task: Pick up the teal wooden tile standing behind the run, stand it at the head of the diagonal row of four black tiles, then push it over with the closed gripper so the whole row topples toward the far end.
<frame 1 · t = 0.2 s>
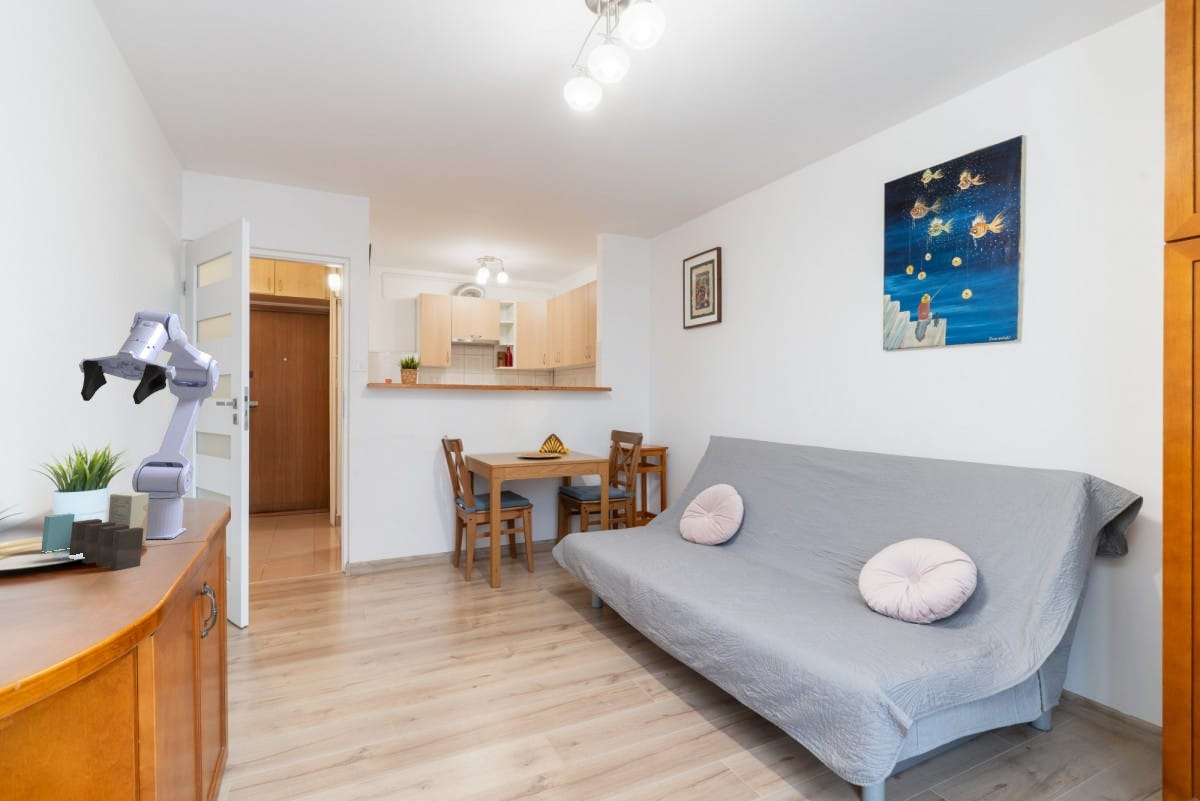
hand: (110, 398, 104), 31 cm above the table, tool tilted 45°, fingers open, 7 cm apart
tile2: (83, 557, 110), on the table
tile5: (125, 567, 106), on the table
tile4: (111, 564, 107), on the table
box: (125, 547, 119), on the table
tile3: (97, 560, 108), on the table
lead tile: (56, 550, 113), on the table
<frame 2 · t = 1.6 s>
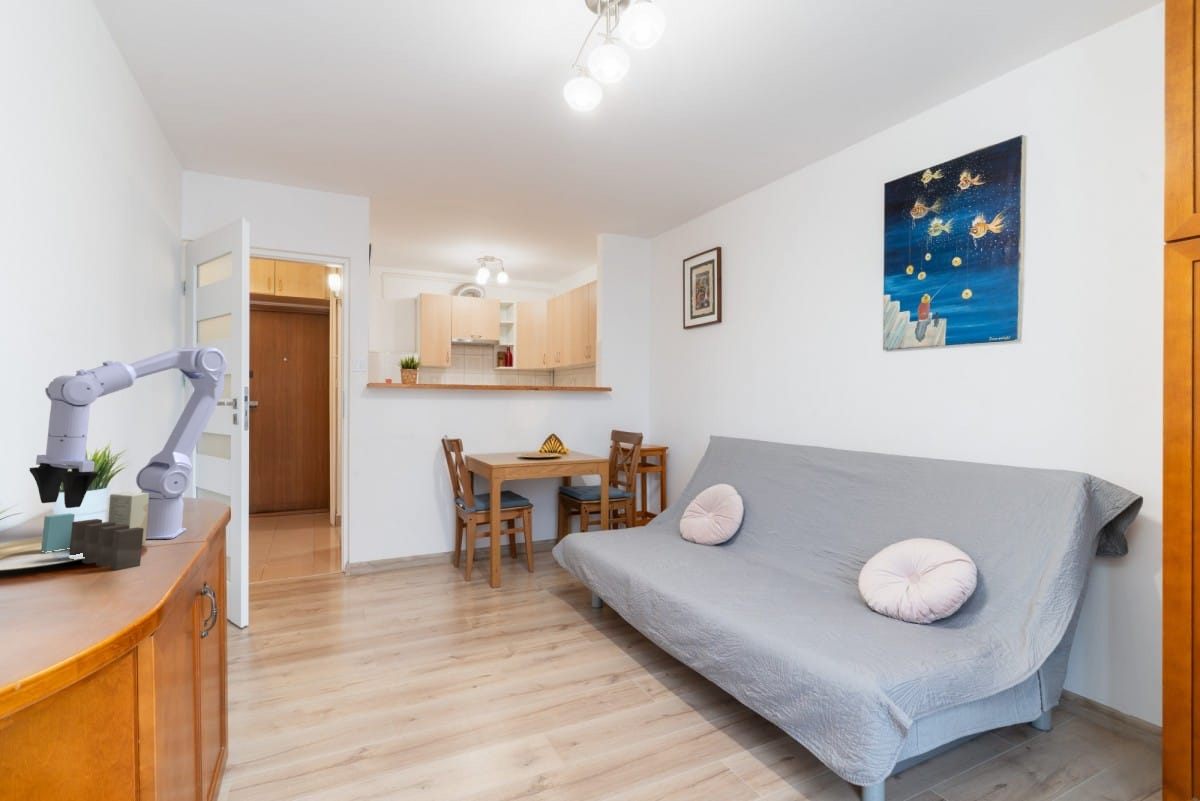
hand: (60, 504, 113), 9 cm above the table, tool pointing down, fingers open, 7 cm apart
nothing on the table moved.
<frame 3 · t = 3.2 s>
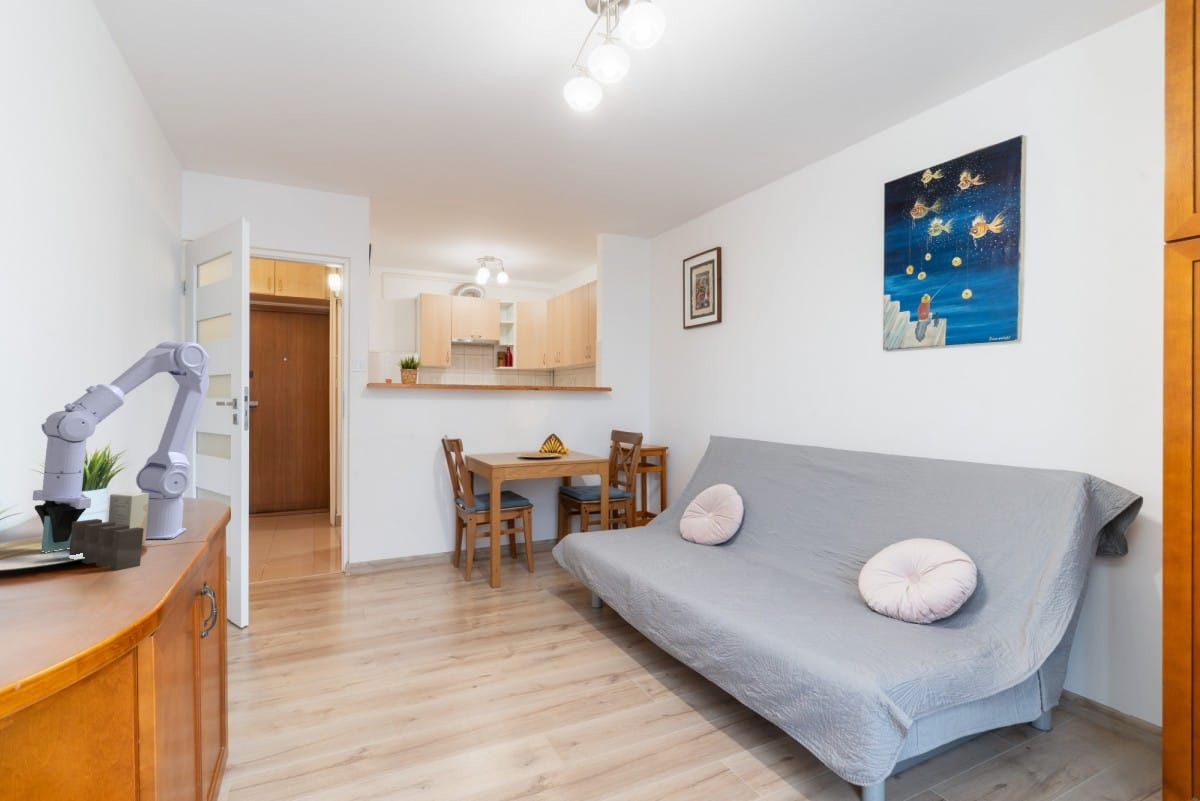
hand: (57, 540, 113), 2 cm above the table, tool pointing down, fingers closed on lead tile, 2 cm apart
lead tile: (56, 550, 113), on the table, touching gripper
everything else where it was.
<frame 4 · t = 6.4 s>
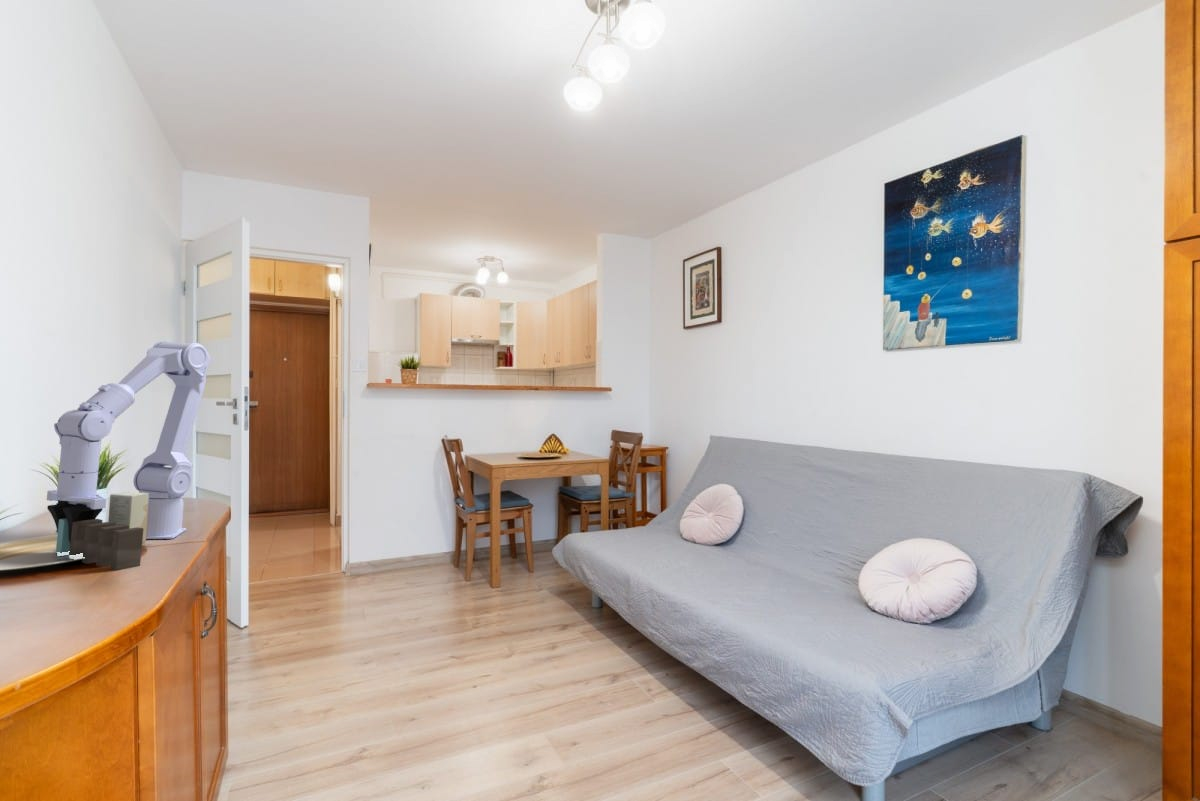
hand: (72, 541, 111), 2 cm above the table, tool pointing down, fingers open, 3 cm apart
lead tile: (70, 554, 111), on the table
everything else where it was.
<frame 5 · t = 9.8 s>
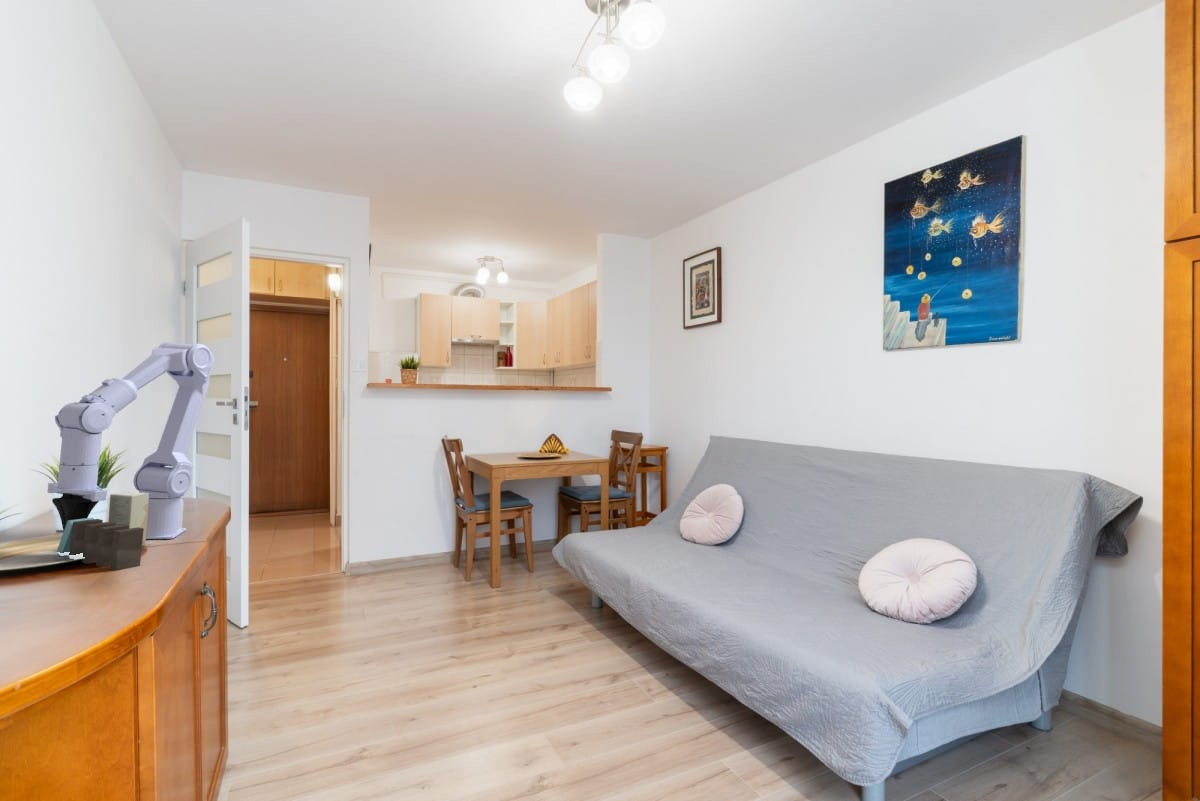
hand: (72, 533, 111), 4 cm above the table, tool pointing down, fingers closed
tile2: (83, 557, 110), on the table, touching lead tile
lead tile: (71, 552, 111), on the table, tilted 22°, touching gripper, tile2
everything else where it was.
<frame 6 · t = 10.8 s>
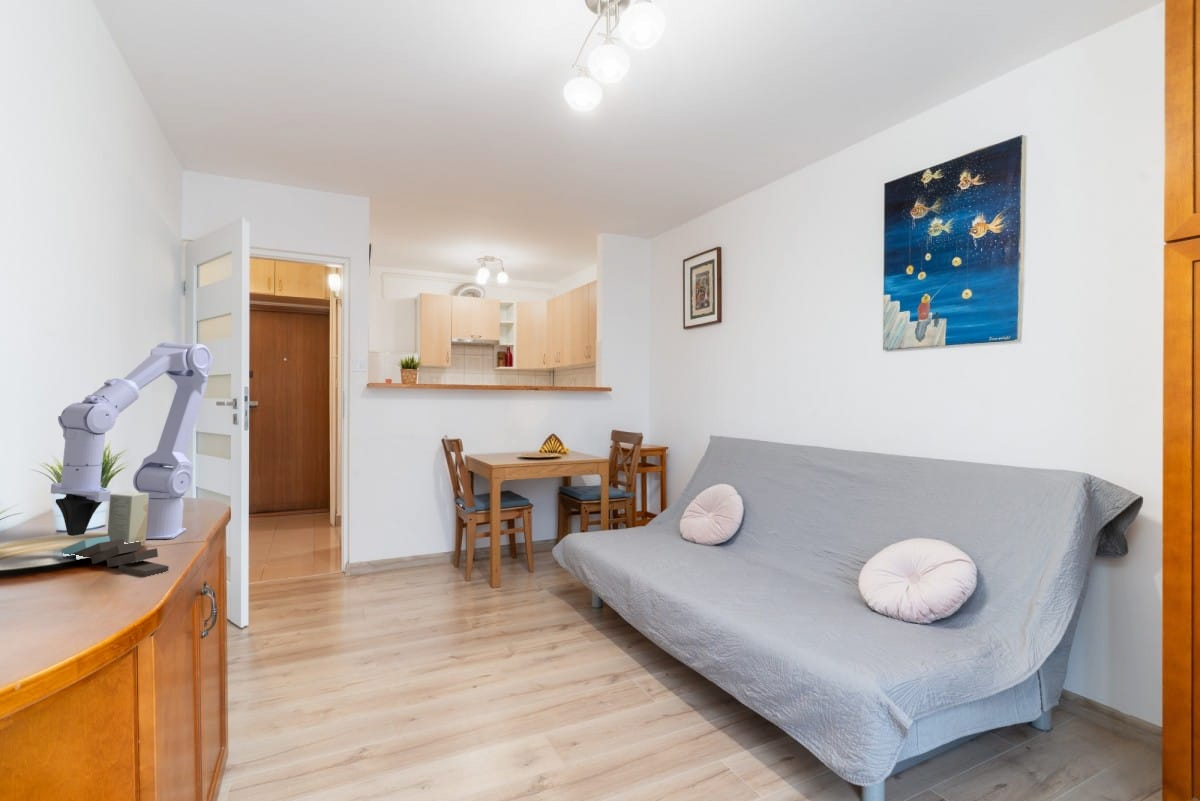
hand: (76, 534, 111), 4 cm above the table, tool pointing down, fingers closed
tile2: (87, 554, 109), point 1 cm above the table, tilted 67°, touching lead tile, tile3
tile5: (130, 567, 106), on the table, tilted 90°, touching tile4
tile4: (118, 560, 107), point 1 cm above the table, tilted 73°, touching tile3, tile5
tile3: (103, 557, 108), point 1 cm above the table, tilted 66°, touching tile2, tile4
lead tile: (74, 551, 111), point 1 cm above the table, tilted 67°, touching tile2
everything else where it was.
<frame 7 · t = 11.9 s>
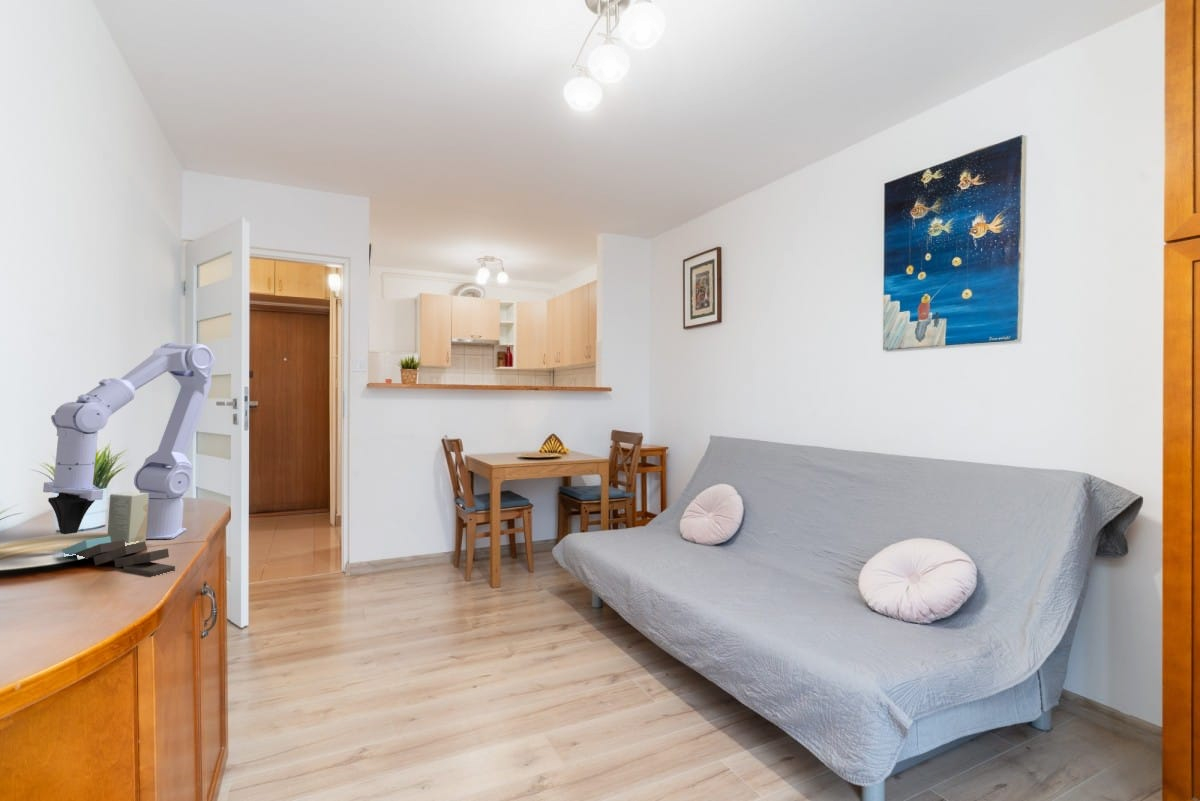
hand: (68, 533, 112), 4 cm above the table, tool pointing down, fingers closed
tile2: (89, 554, 109), point 1 cm above the table, tilted 68°, touching lead tile
tile4: (124, 560, 107), point 1 cm above the table, tilted 76°, touching tile3, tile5
tile3: (105, 558, 108), point 1 cm above the table, tilted 67°, touching tile4
lead tile: (76, 551, 111), point 1 cm above the table, tilted 67°, touching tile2
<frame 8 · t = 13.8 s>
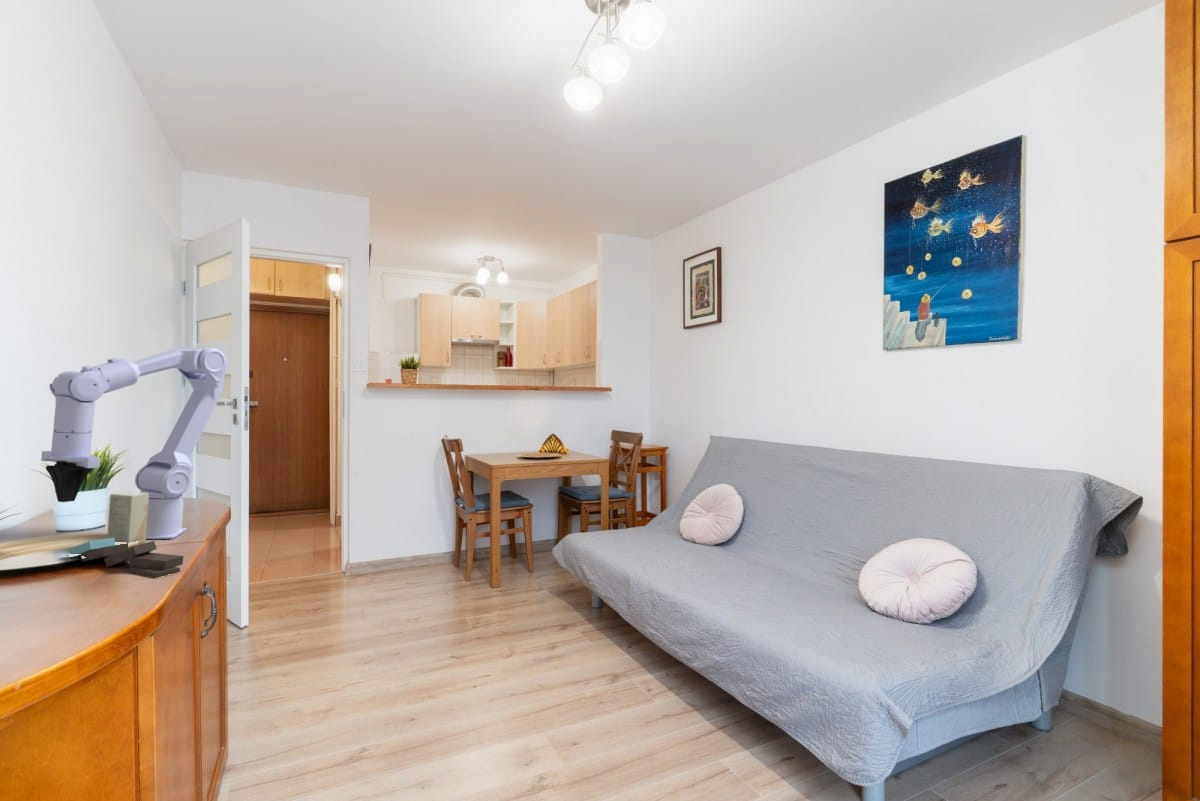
hand: (66, 501, 112), 10 cm above the table, tool pointing down, fingers closed
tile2: (93, 555, 109), point 1 cm above the table, tilted 72°, touching lead tile
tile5: (140, 569, 105), on the table, tilted 90°
tile4: (139, 559, 106), point 2 cm above the table, tilted 90°
tile3: (116, 560, 107), point 1 cm above the table, tilted 63°
everything else where it was.
at the end: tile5 tilted 90°; lead tile tilted 68°; the gripper is holding nothing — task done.
